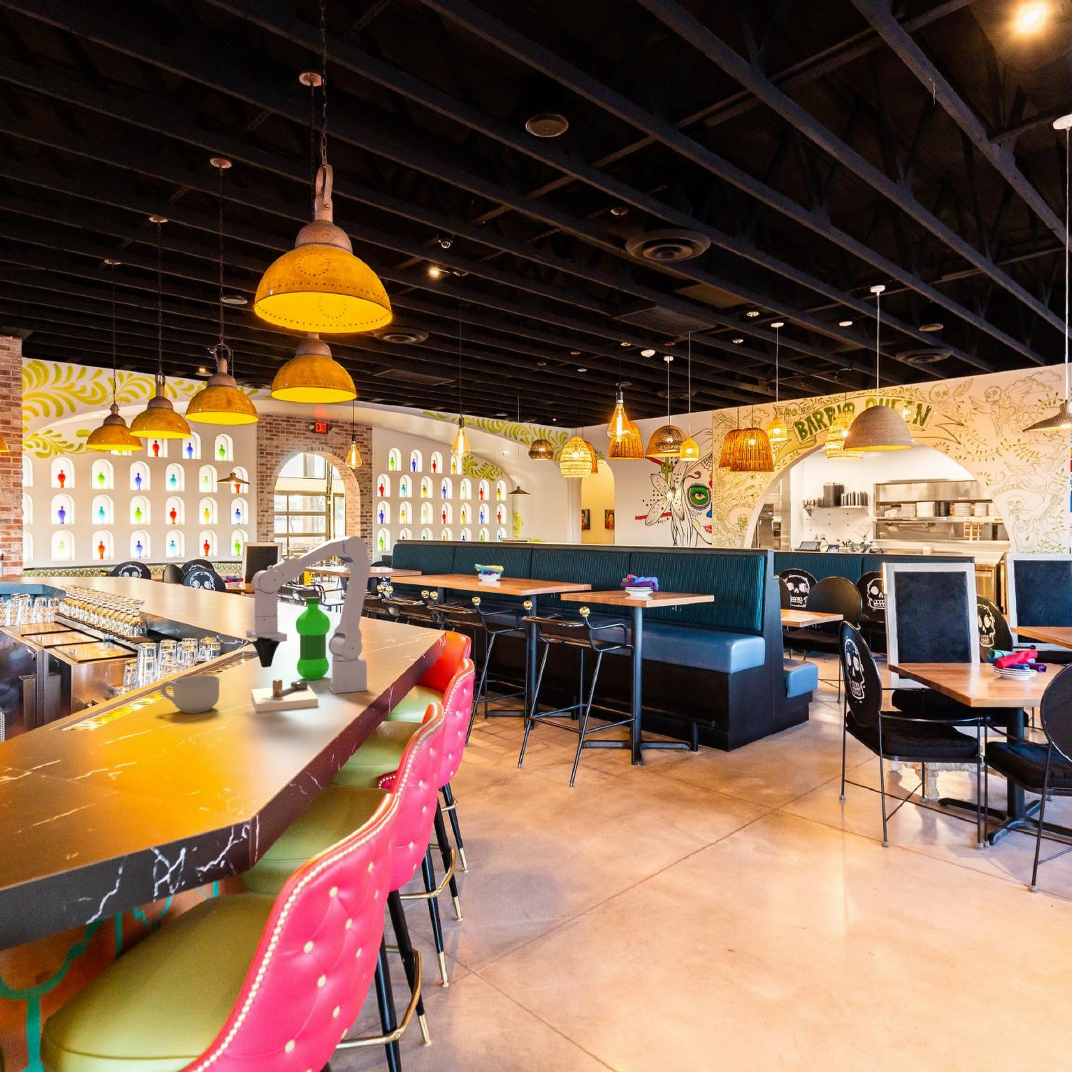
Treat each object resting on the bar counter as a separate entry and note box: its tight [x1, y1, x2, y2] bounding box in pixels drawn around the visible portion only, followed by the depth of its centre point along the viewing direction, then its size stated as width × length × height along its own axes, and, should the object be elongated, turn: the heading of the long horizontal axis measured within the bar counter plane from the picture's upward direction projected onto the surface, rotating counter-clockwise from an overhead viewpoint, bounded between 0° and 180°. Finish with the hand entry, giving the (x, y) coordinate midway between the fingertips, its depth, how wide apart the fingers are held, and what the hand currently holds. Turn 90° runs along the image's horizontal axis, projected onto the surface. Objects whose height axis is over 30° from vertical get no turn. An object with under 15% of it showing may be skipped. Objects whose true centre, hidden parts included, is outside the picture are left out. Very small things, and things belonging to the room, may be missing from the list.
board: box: [250, 684, 319, 713], centre depth 195 cm, size 15×19×2 cm
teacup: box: [160, 674, 221, 714], centre depth 185 cm, size 14×11×8 cm
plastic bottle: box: [295, 596, 331, 681], centre depth 227 cm, size 10×10×25 cm
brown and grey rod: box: [271, 679, 309, 698], centre depth 196 cm, size 15×4×4 cm, turn 165°
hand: (266, 666), depth 195 cm, fingers closed
